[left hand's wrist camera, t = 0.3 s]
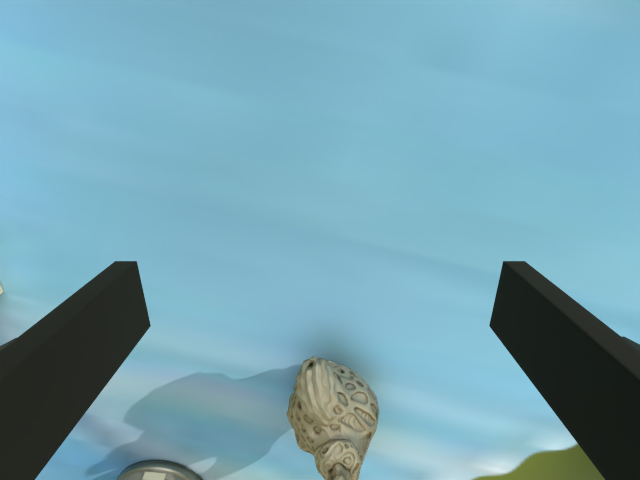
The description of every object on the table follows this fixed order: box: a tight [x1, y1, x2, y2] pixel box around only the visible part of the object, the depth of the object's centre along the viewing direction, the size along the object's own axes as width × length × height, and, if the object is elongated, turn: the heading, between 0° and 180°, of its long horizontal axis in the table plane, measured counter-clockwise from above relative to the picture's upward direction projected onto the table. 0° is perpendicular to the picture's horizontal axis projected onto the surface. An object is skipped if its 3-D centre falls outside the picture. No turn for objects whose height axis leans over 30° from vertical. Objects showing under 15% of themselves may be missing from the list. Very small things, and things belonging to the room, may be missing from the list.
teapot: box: [287, 356, 379, 480], centre depth 43 cm, size 21×12×15 cm, turn 13°
